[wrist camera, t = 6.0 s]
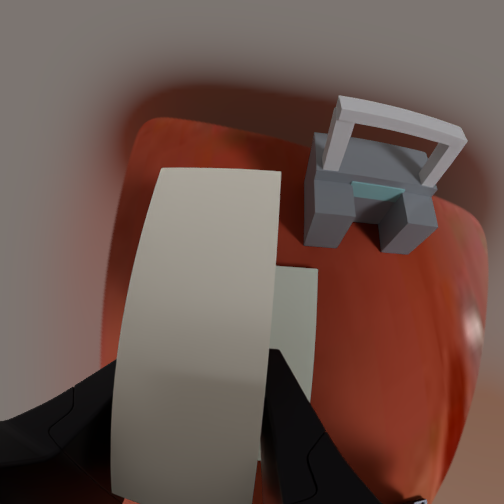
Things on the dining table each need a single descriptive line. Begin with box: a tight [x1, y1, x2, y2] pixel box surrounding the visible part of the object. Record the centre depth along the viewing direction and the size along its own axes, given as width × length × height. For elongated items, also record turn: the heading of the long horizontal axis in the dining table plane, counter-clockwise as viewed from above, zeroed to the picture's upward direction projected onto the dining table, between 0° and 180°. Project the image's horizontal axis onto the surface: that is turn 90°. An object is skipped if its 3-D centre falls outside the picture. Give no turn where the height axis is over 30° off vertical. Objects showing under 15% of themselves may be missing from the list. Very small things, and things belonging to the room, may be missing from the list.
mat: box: [258, 266, 318, 461], centre depth 18 cm, size 14×10×1 cm
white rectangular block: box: [111, 168, 281, 504], centre depth 10 cm, size 8×3×10 cm, turn 175°
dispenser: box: [304, 96, 467, 254], centre depth 17 cm, size 6×9×11 cm, turn 85°
